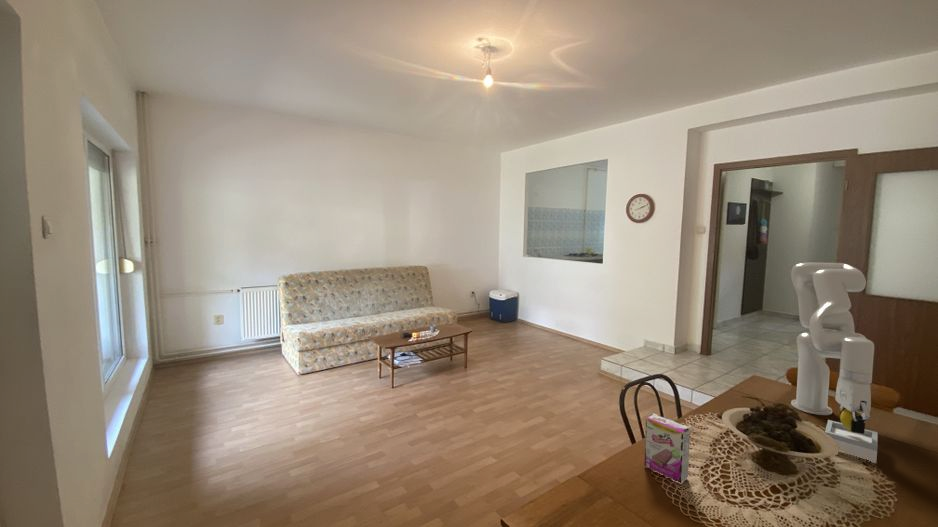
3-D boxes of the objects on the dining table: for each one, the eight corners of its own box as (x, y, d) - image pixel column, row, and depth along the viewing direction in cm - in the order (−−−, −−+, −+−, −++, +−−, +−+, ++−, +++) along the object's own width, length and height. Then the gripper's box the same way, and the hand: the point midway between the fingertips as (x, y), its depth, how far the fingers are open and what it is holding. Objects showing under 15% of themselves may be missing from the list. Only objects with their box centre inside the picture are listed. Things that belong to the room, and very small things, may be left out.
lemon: (856, 428, 129) (858, 405, 128) (867, 436, 124) (869, 413, 123) (835, 425, 131) (837, 403, 130) (845, 434, 125) (847, 410, 125)
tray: (827, 434, 136) (828, 419, 135) (876, 448, 127) (877, 432, 127) (823, 447, 128) (825, 431, 127) (876, 463, 119) (877, 446, 119)
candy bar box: (643, 468, 118) (644, 417, 117) (651, 462, 121) (653, 412, 120) (681, 487, 109) (683, 432, 108) (688, 480, 112) (690, 426, 111)
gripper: (826, 365, 135) (823, 414, 136) (856, 383, 119) (852, 439, 120) (854, 367, 132) (850, 417, 134) (888, 386, 116) (883, 443, 118)
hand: (851, 427), depth 127 cm, fingers closed on lemon, 5 cm apart
